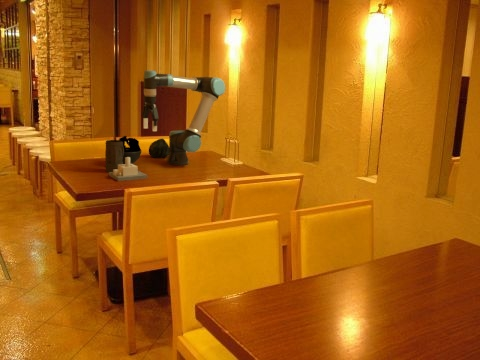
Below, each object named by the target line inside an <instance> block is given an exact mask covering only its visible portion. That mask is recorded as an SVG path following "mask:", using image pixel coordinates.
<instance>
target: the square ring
mask: <svg viewBox="0 0 480 360" xmlns="http://www.w3.org/2000/svg"><path fill="white" fill-rule="evenodd" d="M138 167H139V166H138V165H135V164H134V163H133V164H130V166H129V167H125V164H122V165H118V169H114V170H113V175H119V172H121V175H123V176H128V175H138V171H139V170H138V169H139V168H138Z"/></svg>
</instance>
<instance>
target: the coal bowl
mask: <svg viewBox="0 0 480 360" xmlns="http://www.w3.org/2000/svg"><path fill="white" fill-rule="evenodd" d="M118 140H120V141H122V142H123V148H124V154H123V159H122V161H123V164H125V157H130V164H133V165H134V163H136V162H137V161H138V160H139V159H140V157H141V155H142V149H141V147H140V143H139V139H137V138H134V137H128V136H127V135H124V136H122V137H120V138H119V139H118ZM125 144H127V146H126V145H125Z"/></svg>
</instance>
